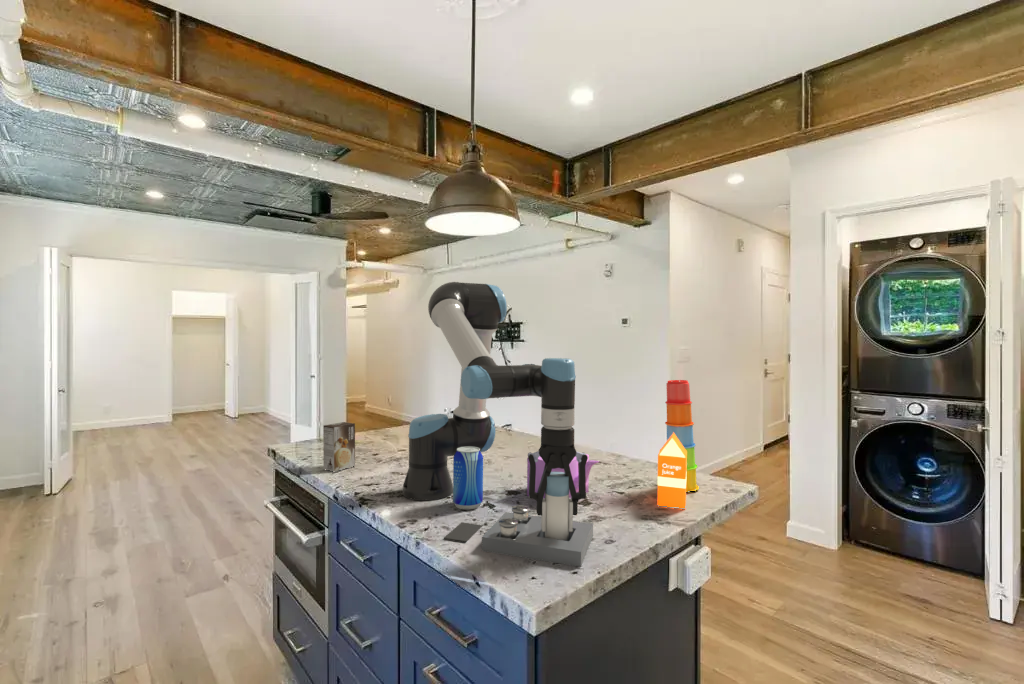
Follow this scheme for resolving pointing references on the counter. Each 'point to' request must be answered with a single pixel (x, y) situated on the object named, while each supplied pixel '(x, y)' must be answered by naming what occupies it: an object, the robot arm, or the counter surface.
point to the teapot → (573, 468)
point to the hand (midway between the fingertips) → (556, 528)
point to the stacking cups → (682, 425)
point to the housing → (540, 542)
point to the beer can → (468, 478)
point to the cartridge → (557, 506)
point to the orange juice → (672, 474)
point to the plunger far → (520, 513)
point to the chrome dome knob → (508, 528)
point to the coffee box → (339, 446)
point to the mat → (463, 532)
